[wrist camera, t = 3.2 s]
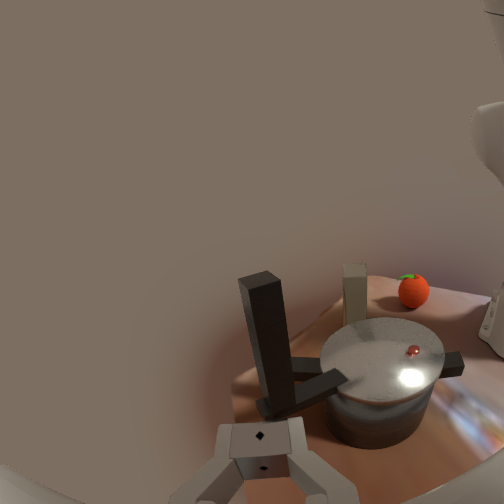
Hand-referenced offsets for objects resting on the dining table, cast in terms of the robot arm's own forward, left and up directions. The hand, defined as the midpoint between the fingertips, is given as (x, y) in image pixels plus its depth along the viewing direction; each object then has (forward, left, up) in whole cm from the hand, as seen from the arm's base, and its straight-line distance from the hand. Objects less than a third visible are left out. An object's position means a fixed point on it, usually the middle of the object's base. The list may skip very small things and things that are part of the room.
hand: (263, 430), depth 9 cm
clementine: (-50, -7, -22) cm, 55 cm away
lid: (-17, -4, -13) cm, 22 cm away
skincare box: (-38, -15, -22) cm, 46 cm away
